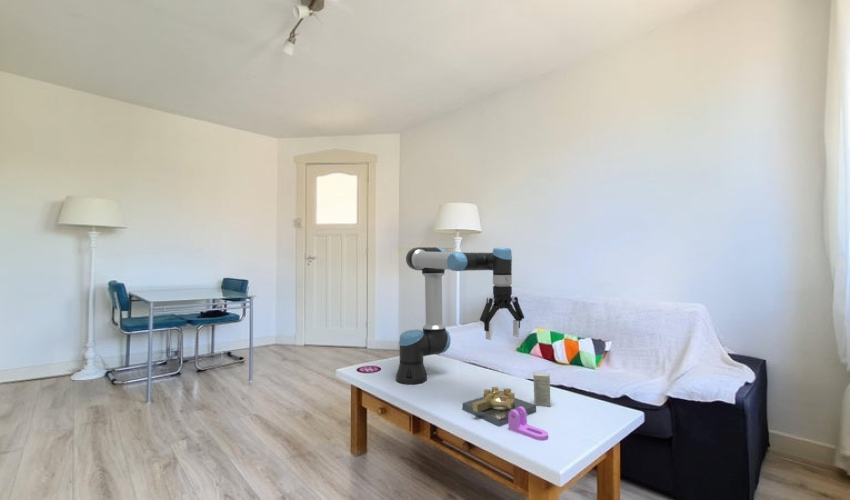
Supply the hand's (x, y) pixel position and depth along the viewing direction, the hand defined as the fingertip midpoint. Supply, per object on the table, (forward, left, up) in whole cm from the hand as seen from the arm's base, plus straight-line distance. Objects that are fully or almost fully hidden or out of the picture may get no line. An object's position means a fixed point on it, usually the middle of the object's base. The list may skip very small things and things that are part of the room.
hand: (502, 337), depth 157 cm
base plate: (+5, -6, -27) cm, 28 cm away
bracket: (+22, -12, -27) cm, 37 cm away
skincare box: (+9, +13, -27) cm, 32 cm away
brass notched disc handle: (+3, -9, -24) cm, 26 cm away
